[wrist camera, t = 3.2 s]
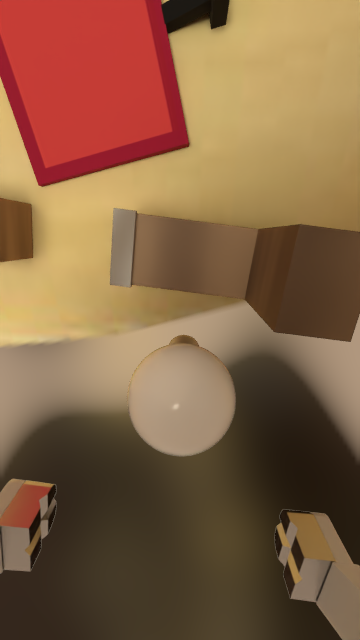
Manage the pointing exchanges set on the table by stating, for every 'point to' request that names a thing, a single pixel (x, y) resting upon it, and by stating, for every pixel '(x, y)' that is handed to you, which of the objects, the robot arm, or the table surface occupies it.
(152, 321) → the table surface
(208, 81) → the table surface
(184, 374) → the lightbulb
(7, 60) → the red board with handle
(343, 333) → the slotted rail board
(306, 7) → the table surface
